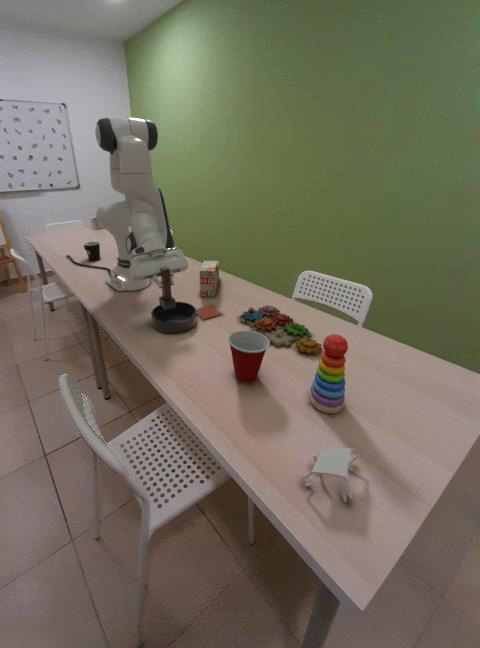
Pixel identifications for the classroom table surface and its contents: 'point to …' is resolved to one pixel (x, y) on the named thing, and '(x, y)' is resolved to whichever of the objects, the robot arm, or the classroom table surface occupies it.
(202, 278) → the food box
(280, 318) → the gear puzzle
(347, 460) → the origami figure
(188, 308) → the pan
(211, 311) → the plate
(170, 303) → the brown post with base
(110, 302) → the classroom table surface
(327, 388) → the stacking toy
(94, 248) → the coffee mug
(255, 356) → the plastic cup
